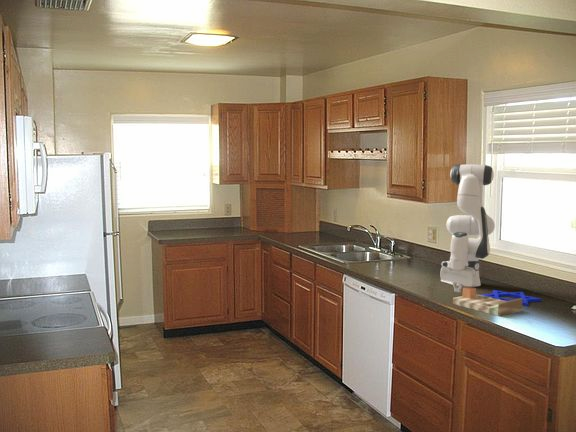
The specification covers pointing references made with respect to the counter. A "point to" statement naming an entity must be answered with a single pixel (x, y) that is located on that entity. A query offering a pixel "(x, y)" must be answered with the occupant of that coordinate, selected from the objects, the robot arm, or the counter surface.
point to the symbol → (514, 294)
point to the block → (469, 292)
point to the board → (489, 304)
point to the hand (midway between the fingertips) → (457, 291)
